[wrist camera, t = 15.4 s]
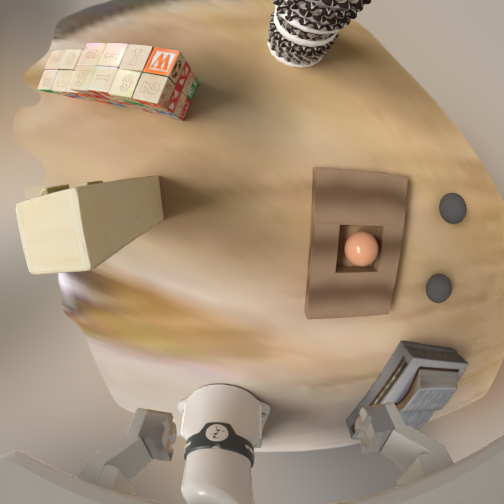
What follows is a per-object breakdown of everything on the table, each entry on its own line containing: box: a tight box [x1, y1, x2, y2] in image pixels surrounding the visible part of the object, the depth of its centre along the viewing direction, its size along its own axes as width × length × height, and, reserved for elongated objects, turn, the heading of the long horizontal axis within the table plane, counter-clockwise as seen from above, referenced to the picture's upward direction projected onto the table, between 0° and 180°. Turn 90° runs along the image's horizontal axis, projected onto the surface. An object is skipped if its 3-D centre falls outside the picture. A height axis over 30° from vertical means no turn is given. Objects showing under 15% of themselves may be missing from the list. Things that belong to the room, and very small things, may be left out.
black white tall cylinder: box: [268, 0, 371, 68], centre depth 19 cm, size 9×9×25 cm
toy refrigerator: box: [16, 176, 164, 274], centre depth 28 cm, size 8×7×21 cm
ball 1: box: [426, 274, 452, 303], centre depth 40 cm, size 5×5×5 cm
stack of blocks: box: [38, 43, 199, 121], centre depth 27 cm, size 21×6×12 cm, turn 70°
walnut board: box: [305, 168, 408, 319], centre depth 39 cm, size 22×14×2 cm, turn 0°
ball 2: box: [439, 193, 466, 224], centre depth 36 cm, size 5×5×5 cm
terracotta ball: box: [345, 231, 378, 267], centre depth 38 cm, size 5×5×5 cm
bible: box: [346, 341, 468, 439], centre depth 46 cm, size 23×27×10 cm
